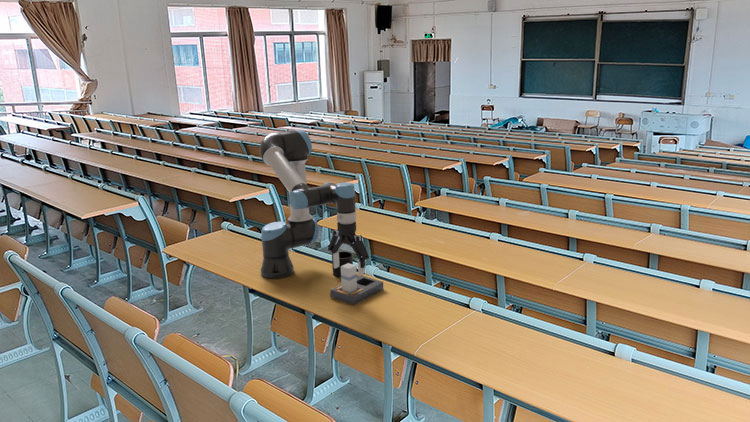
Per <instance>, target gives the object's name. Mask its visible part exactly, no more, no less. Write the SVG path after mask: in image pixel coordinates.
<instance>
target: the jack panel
mask: <svg viewBox="0 0 750 422" xmlns="http://www.w3.org/2000/svg"><path fill="white" fill-rule="evenodd" d="M383 290H384V281H381V280H378V279H375V278H371V277H368V276H365V275H361V276H359V275H357V291H355V292H354V293H352V294H349V293H346V292H343V291H342V284H339V285H337V286H334V287H333V288H330V298H332V299H335V300H337V301H339V302H344V303H347V304H349V305H352V306H357V305H358V304H359V303H362V302H363V301H365V300H367V299H368V298H370V297H373V296H374V295H376V294H379V292H382V291H383Z"/></svg>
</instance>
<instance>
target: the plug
mask: <svg viewBox="0 0 750 422" xmlns="http://www.w3.org/2000/svg"><path fill="white" fill-rule="evenodd" d="M357 276H358V273H357V265H356V264H354V263H353V264H349V263H347V264H345V265H343V266H341V277H340V279H341V284H342V291H343V292H346V293H349V294H352V293H354V292H355V291H357ZM341 284H340V285H341Z"/></svg>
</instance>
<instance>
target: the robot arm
mask: <svg viewBox="0 0 750 422" xmlns="http://www.w3.org/2000/svg"><path fill="white" fill-rule="evenodd" d="M312 150H313V145H312V141H311V137H310V135H308V133H307V132H306V131H305V130H303V129H292V130H284V131H279V132H278V131H275V132H271V133H269V134H267V135H265V136H264V137H263V138H262V140H261V142H260V145H259V156H260V158H261V161H263V163H264V164H265V165H267V166H269V167H270V168H271V169H272V171H273V172H274V173H275V175H276V176H277V178H278V179H279V180H280V181H281V183H282V184H283V186H284V187H285V188H286V190H287V191H288V201H289V210H290V215H289V216H288V218H287V222H288V223H286V222H285V221H274V222H270V223H267V224H266V225H264V226H263V227H262V229H261V231H260V232H261V233H260V235H261V236H260V239H261V245H262V258H263V259H262V263H261V267H260V275H261V277H263V278H265V279H269V280H270V279H272V280H274V279H276V280H278V279H283V278H286V277H289V276H292V274H293V273H295V270H294V265H293V262H292V260H291V257H290V252H289V250H290V249H296V248H299V247H304V246H309V245H311V244H315V243H316V241H317V240H318V239H319V234H320V228H319V224H318V221H317V220H316V219H314V217H313V215H311V214H310V208H312V207H317V206H322V205H328V204H334V205H336V221H337V223H336V225H337V226H336V227H337V229H335V230H333V231H332V236H331V239H330V242H329V245H328V248H327V251H330V253H331V260H332V259H333V263H334V268H338V267H340V266H339V252H340V251H339V250H340V248H341V246H342V245H343V244H344V245H348V246H350V248H352V249H353V251H354V253H355V255H356V256H357V258H358V259H357V264H358V265H357V266H358V267H357V269H358V270H357V271H358V273H357V276H361V275H362V276H364V274H365V268H366V261H367V260H369V258H370V256H369V254H368V250H367V249H366V245H365V243H364V241H363V236H362V234H360V235H357V234H356V231H357V221H356V220H357V214H356V191H355V185H354V184H353V182H347V181H346V182H338V183H333V182H324V183H323V184H321V186H320V185H319V186H313V187H309V185H308V184H307V183H308V182H307V171H306V162H307V161H308V160H309V158H308V157H309V155H310V154H312ZM338 238H339V239H338Z"/></svg>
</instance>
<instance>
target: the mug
mask: <svg viewBox="0 0 750 422" xmlns="http://www.w3.org/2000/svg"><path fill="white" fill-rule="evenodd" d="M338 252H339V266H340V267H338V268H334V263H333V259H332V258H331V263H332V274H333V276H334V277H337V278H341V266H343V265H345V264H347V263H349V264H353V265H354V258H353V257H354V256H353V255H354V254H353V253H352V252H350V251H338Z"/></svg>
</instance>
